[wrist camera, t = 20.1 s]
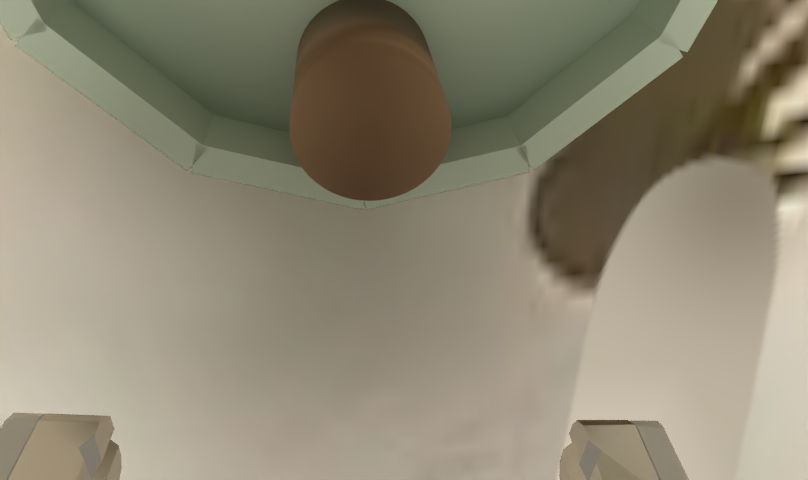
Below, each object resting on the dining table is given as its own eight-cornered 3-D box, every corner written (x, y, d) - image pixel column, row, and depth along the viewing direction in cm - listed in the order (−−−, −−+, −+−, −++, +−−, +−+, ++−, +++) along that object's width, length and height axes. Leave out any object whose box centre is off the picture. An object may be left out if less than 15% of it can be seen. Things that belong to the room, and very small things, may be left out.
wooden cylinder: (434, -2, 18) (460, 55, 15) (424, 124, 21) (443, 200, 17) (293, -6, 18) (285, 52, 14) (299, 123, 20) (293, 201, 17)
